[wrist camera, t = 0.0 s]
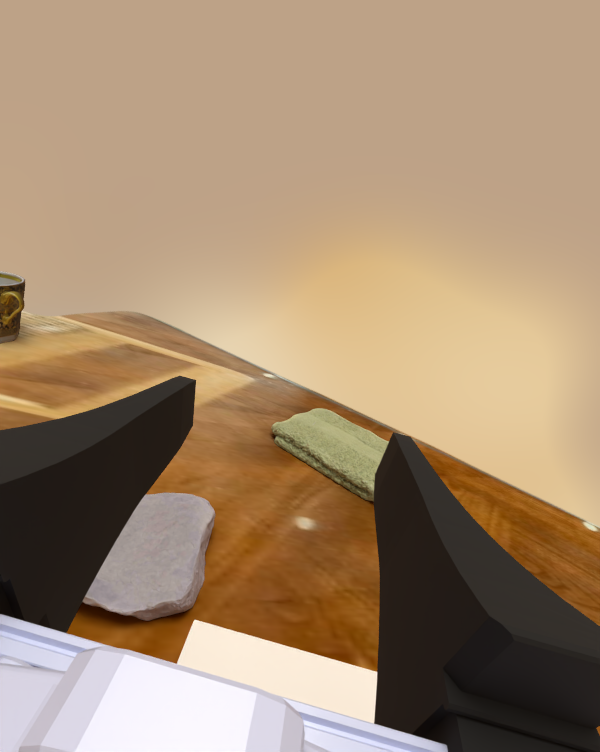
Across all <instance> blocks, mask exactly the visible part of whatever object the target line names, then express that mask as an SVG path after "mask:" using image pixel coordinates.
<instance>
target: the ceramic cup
mask: <svg viewBox="0 0 600 752" xmlns="http://www.w3.org/2000/svg"><path fill="white" fill-rule="evenodd" d="M24 291H25V279H24V278H22V277H21V276H18V275H15V274H12V273H6V272H1V271H0V343H3V342H8V341H13V340H15V339H16V337H17V336H18V334H19V329H20V319H21V311H22V310H23V308H24V300H23V298H24Z"/></svg>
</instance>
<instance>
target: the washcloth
mask: <svg viewBox="0 0 600 752" xmlns="http://www.w3.org/2000/svg"><path fill="white" fill-rule="evenodd" d="M272 431H273V433H274V434H275V435H277V436H276V438H275V440H274V443H275V444H277V446H280V447H281V448H283V449H284V450H286V451H287V452H289V453H291V454H293V455H294V456H296V457H297V458H298V459H300V460H302V461H304V462H305V463H307V464H308V465H310V466H312V467H313V468H315V469H316V470H318V471H319V472H320V473H323V474H324V475H326V476H327V477H329V478H331V479H332V480H334V481H335V482H337V483H338V484H340V485H343V486H344V487H345V488H347V489H349V490H350V491H351V492H352V493H355V494H357V495H359V496H360V497H361V498H362V499H364V500H369V501H373V502H374V481H375V473H376V471H377V468H378V466H379V464H380V462H381V459H382V457H383V455H384V452H385V450H386V448H387V445H388V443H389V441H386V440H383V439H381V438H380V437H378V436H376V435H375V434H374V433H372V432H370V431H368V430H365V429H364V428H361V427H359V426H357V425H355V424H353V423H351V422H349V421H347V420H346V419H344V418H342V417H341V416H339V415H337V414H336V413H334V412H332V411H330V410H326V409H321V408H318V409H313V410H311V411H309V412H307V413H300V414H296V415H294V416H292V417H291V418H290V419H288V420H286V421H283V422H276V423H275V424H273V425H272Z"/></svg>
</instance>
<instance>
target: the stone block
mask: <svg viewBox="0 0 600 752" xmlns="http://www.w3.org/2000/svg"><path fill="white" fill-rule="evenodd" d="M214 518H215V511H214V509H213V508H212V507H211V505H210V503H209V502H208V501H207V500H205V499H204V498H201V497H197V496H194V495H192V494H184V493H159V494H153V495H145V496H144V497H143V498H142V500H141V501H140V503H139V504H138V506H137V507H136V509H135V510H134V512H133V514H132V515H131V517H130V518H129V520H128V522H127V523H126V525H125V527H124V528H123V530H122V532H121V533H120V535H119V537H118V538H117V540H116V542H115V544H114V545H113V547H112V549H111V551H110V552H109V554H108V556H107V558H106V559H105V561H104V563H103V565H102V566H101V568H100V570H99V572H98V574H97V576H96V577H95V579H94V581H93V583H92V585H91V586H90V588H89V590H88V592H87V594H86V596H85V597H84V599H83V601H82V602H84V603H85V604H89V605H91V606H97V607H102V608H103V609H105V610H107V611H111V612H117V613H119V614H120V615H121V614H122V615H126V616H127V615H131V616H134V617H137V618H139V619H141V620H146V621H149V620H152V619H155V618H159V617H164V616H169V615H172V614H176V613H181V612H185V611H186V610H188V609H190V608H192V607H193V605H194V603H195V601H196V598H197V595H198V593H199V591H200V589H201V587H202V584H203V581H204V566H205V552H206V550H207V546H208V543H209V539H210V535H211V532H212V528H213V526H214Z"/></svg>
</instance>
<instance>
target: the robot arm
mask: <svg viewBox="0 0 600 752" xmlns="http://www.w3.org/2000/svg"><path fill="white" fill-rule="evenodd" d="M195 386H196V380H193V379H190V378H186V377H182V376H178V377H175V378H172V379H170V380H168V381H165V382H163V383H160V384H158V385H156V386H153V387H151V388H149V389H146V390H144V391H141V392H139V393H137V394H134V395H132V396H129V397H126V398H124V399H121V400H118V401H116V402H113V403H110V404H107V405H105V406H102V407H99V408H96V409H93V410H89V411H86V412H83V413H79V414H76V415H72V416H68V417H65V418H61V419H56V420H51V421H47V422H42V423H38V424H33V425H28V426H23V427H18V428H12V429H6V430H0V752H600V736H599V734H598V731H597V729H596V728H597V727H598V726H600V626H598V625H597V624H596V623H594V622H593V621H592V620H590V619H589V618H588V617H586V616H585V615H583V614H582V613H581V612H579V611H578V610H577V609H575V608H574V607H573V606H571V605H570V604H569V603H567V602H566V601H564V600H563V599H562V598H561V597H559V596H558V595H557V594H555V593H554V592H553V591H552V590H551V589H549V588H548V587H547V586H546V585H544V584H543V583H542V582H541V581H539V580H538V579H537V578H536V577H535V576H533V575H532V574H531V573H530V572H529V571H528V570H526V569H525V568H524V567H523V566H522V565H521V564H519V563H518V562H517V561H516V560H515V559H514V558H513V557H512V556H511V555H510V554H509V553H507V552H506V551H505V550H504V549H503V548H502V547H501V546H500V545H499V544H498V543H497V542H496V541H495V540H494V539H493V538H492V537H491V536H490V535H489V534H488V533H487V532H486V531H485V530H484V529H483V528H482V527H481V526H480V525H479V524H478V523H477V522H476V521H475V520H474V519H473V518H472V517H471V515H470V514H469V513H468V512H467V511H466V510H465V509H464V507H463V506H462V505H461V504H460V503H459V501H458V500H457V499H456V498H455V497H454V495H453V494H452V493H451V492H450V490H449V489H448V488H447V487H446V485H445V484H444V483H443V481H442V480H441V479H440V477H439V476H438V475H437V473H436V472H435V471H434V469H433V468H432V466H431V465H430V464H429V462H428V461H427V459H426V458H425V457H424V455H423V454H422V452H421V451H420V449H419V448H418V447H417V445H416V444H415V442H414V441H413V440H412V438H411V437H409V436H405V435H401V434H398V433H394V432H393V434H392V436H391V439H390V441H389V443H388V445H387V448H386V450H385V452H384V455H383V457H382V459H381V462H380V464H379V466H378V468H377V471H376V473H375V481H374V511H375V522H376V533H377V544H378V554H379V567H380V616H379V648H378V670H377V689H376V704H375V719H374V724H373V723H370V722H367V721H363V720H360V719H356V718H353V717H350V716H346V715H343V714H339V713H336V712H333V711H329V710H326V709H322V708H319V707H316V706H312V705H309V704H305V703H302V702H299V701H295V700H292V699H288V698H285V697H282V696H278V695H275V694H271V693H269V692H266V691H264V690H262V689H259V688H257V687H253V686H250V685H247V684H243V683H240V682H236V681H233V680H229V679H226V678H223V677H219V676H216V675H212V674H209V673H206V672H202V671H199V670H195V669H192V668H189V667H185V666H182V665H178V664H175V663H172V662H168V661H165V660H161V659H158V658H154V657H151V656H148V655H144V654H141V653H137V652H134V651H131V650H126V649H120V648H115V647H111V646H108V645H104V644H101V643H98V642H94V641H91V640H87V639H84V638H81V637H77V636H74V635H70V634H67V633H66V632H67V630H68V628H69V626H70V625H71V623H72V621H73V619H74V617H75V615H76V613H77V611H78V609H79V607H80V605H81V603H82V601H83V599H84V597H85V596H86V594H87V592H88V590H89V588H90V586H91V585H92V583H93V581H94V579H95V577H96V576H97V574H98V572H99V570H100V568H101V566H102V565H103V563H104V561H105V559H106V558H107V556H108V554H109V552H110V551H111V549H112V547H113V545H114V544H115V542H116V540H117V538H118V537H119V535H120V533H121V532H122V530H123V528H124V527H125V525H126V523H127V522H128V520H129V518H130V517H131V515H132V514H133V512H134V510H135V509H136V507H137V506H138V504H139V503H140V501H141V500H142V498H143V497H144V496H145V494H146V493H147V492H148V490H149V489H150V488H151V486H152V485H153V484H154V482H155V481H156V480H157V478H158V477H159V476H160V475H161V473H162V472H163V471H164V469H165V468H166V467H167V465H168V464H169V463H170V461H171V460H172V459H173V457H174V456H175V454H176V453H177V452H178V450H179V449H180V447H181V446H182V444H183V442H184V441H185V439H186V437H187V435H188V433H189V431H190V430H191V428H192V426H193V414H194V400H195Z"/></svg>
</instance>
